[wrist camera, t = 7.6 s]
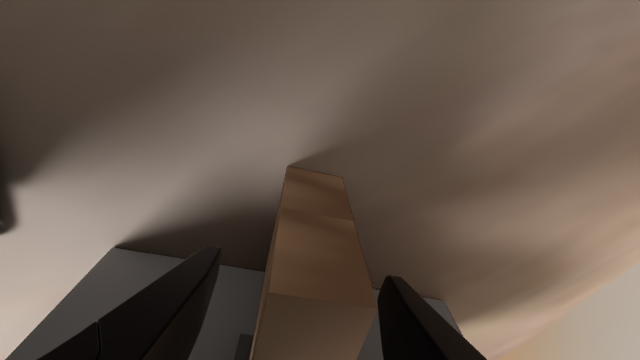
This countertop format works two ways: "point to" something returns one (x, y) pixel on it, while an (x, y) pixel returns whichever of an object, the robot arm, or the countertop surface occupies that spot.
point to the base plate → (219, 324)
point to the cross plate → (313, 276)
